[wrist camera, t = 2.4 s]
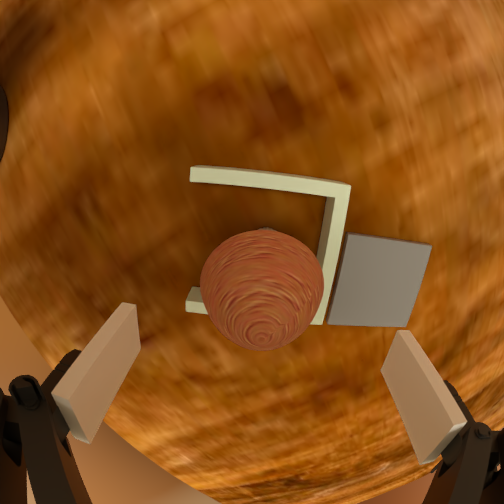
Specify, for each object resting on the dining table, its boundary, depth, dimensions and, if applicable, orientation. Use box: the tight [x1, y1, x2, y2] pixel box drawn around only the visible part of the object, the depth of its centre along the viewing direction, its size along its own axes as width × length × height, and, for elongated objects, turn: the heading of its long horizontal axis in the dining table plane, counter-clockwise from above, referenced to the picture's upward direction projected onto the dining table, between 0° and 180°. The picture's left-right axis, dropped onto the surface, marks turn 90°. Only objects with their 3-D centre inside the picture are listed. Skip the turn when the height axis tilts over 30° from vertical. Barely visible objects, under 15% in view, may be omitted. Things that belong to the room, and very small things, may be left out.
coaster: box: [326, 232, 432, 327], centre depth 29 cm, size 10×10×1 cm
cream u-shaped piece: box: [186, 165, 351, 325], centre depth 26 cm, size 13×13×3 cm
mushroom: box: [200, 227, 324, 351], centre depth 21 cm, size 8×8×15 cm
